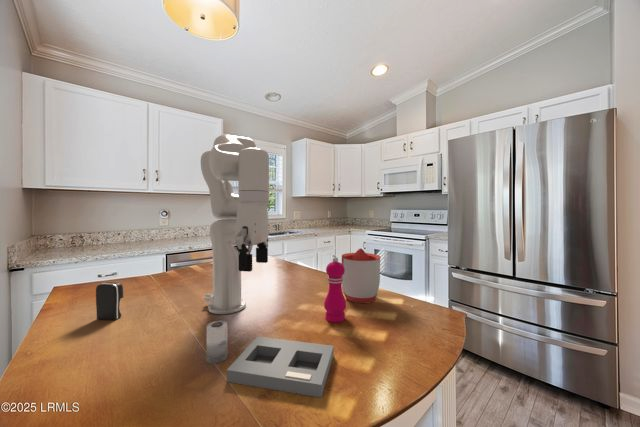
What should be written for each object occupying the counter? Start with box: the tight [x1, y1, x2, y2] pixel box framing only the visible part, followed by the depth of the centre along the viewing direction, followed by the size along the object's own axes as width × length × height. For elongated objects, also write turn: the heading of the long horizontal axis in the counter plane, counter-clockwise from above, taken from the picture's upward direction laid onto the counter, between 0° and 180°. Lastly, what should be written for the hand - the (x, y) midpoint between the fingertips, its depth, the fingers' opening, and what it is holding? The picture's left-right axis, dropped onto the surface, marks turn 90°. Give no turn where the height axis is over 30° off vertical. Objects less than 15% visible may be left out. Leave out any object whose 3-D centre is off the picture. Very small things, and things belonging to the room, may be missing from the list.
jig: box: [226, 336, 335, 399], centre depth 57 cm, size 20×14×3 cm
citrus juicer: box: [341, 248, 382, 304], centre depth 101 cm, size 16×17×20 cm
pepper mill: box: [323, 256, 347, 323], centre depth 83 cm, size 7×7×20 cm
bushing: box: [206, 320, 228, 365], centre depth 61 cm, size 5×5×8 cm
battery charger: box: [95, 281, 124, 321], centre depth 83 cm, size 7×4×11 cm, turn 84°
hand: (254, 266), depth 65 cm, fingers open, 9 cm apart
